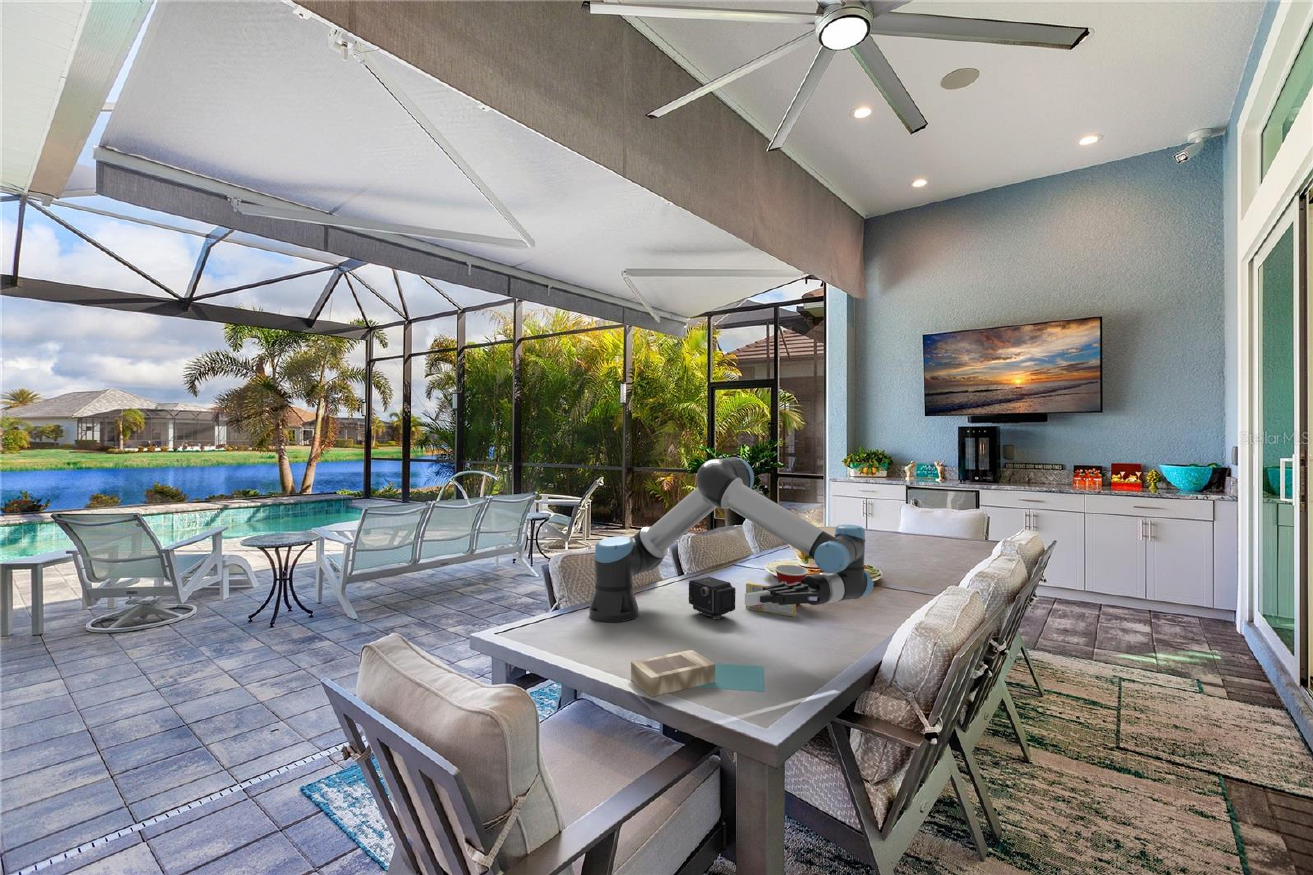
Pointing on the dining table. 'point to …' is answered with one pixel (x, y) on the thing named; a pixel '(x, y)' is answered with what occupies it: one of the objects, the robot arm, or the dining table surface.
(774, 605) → the candy box
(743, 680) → the mat
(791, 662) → the dining table surface
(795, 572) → the plastic cup
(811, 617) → the dining table surface
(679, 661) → the light brown rectangular block
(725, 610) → the camera
